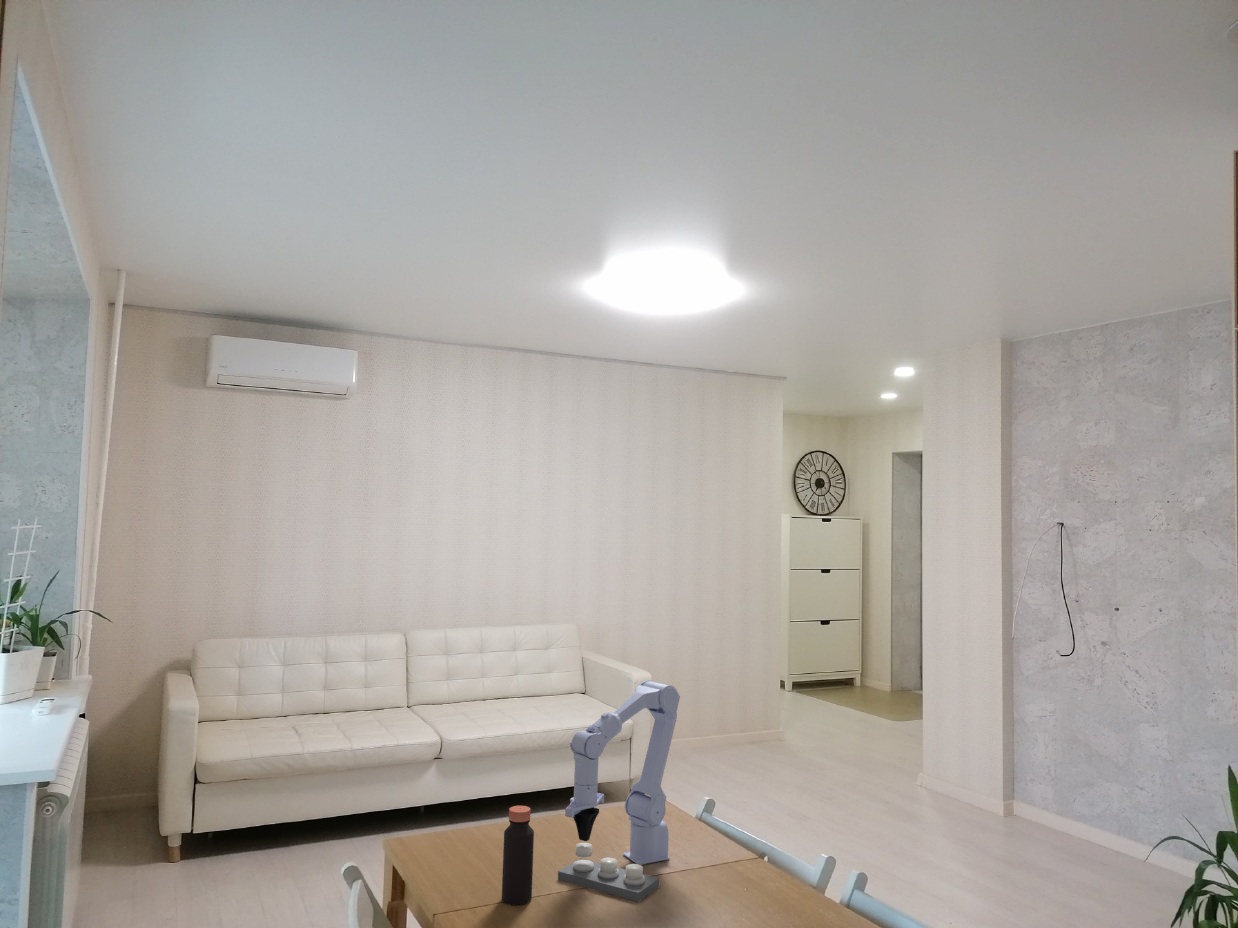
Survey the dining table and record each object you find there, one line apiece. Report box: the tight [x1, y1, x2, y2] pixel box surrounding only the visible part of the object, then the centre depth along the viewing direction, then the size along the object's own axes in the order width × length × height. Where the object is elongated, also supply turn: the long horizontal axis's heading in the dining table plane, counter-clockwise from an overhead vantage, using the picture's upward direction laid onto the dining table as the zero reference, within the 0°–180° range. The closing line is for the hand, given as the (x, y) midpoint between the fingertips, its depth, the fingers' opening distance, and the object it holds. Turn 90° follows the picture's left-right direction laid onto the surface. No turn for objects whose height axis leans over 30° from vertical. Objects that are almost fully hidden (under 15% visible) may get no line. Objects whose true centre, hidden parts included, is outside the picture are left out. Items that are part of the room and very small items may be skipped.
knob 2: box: [599, 857, 618, 873], centre depth 208 cm, size 4×4×2 cm
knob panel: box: [557, 857, 660, 903], centre depth 208 cm, size 22×10×3 cm, turn 60°
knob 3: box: [625, 863, 644, 880], centre depth 204 cm, size 4×4×2 cm
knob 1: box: [575, 842, 593, 858], centre depth 212 cm, size 4×4×2 cm
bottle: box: [501, 805, 535, 906], centre depth 198 cm, size 7×7×20 cm
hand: (584, 839), depth 212 cm, fingers closed
